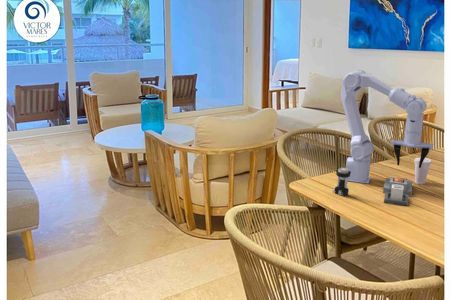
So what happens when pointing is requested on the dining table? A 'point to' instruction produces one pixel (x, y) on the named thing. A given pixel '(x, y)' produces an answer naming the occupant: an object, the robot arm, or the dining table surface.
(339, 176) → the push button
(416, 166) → the smoothie
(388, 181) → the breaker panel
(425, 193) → the dining table surface
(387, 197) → the tray
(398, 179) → the button
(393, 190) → the block
